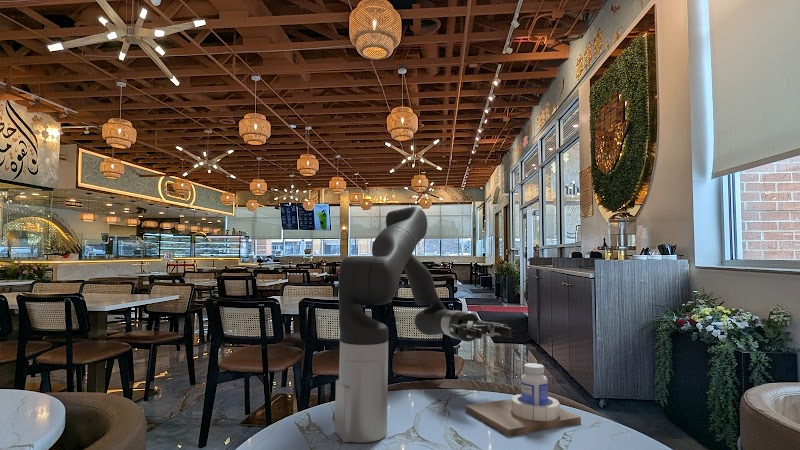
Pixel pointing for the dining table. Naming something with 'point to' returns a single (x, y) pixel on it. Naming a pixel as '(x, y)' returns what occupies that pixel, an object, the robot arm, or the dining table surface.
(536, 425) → the socket board
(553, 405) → the socket sleeve
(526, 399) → the pill bottle
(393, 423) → the dining table surface
